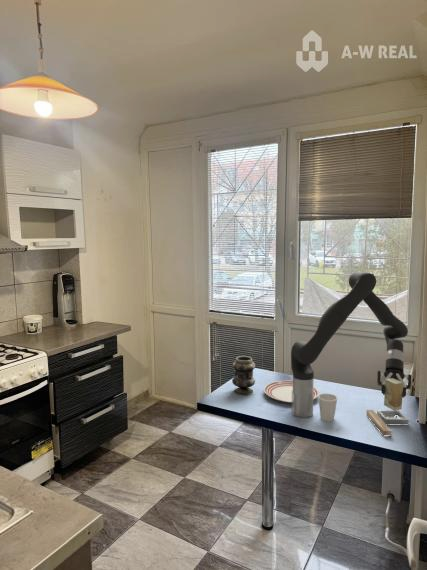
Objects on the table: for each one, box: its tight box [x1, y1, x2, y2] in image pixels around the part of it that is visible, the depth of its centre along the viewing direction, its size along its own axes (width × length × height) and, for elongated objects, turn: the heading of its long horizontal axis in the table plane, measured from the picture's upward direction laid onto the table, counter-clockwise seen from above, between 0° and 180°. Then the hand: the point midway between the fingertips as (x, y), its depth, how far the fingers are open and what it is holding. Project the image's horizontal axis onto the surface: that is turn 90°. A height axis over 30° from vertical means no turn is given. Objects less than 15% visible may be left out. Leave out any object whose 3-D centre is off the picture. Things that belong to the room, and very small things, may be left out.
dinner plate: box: [263, 380, 320, 404], centre depth 200 cm, size 28×27×3 cm
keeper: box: [376, 409, 410, 425], centre depth 172 cm, size 10×10×2 cm
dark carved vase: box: [231, 355, 256, 396], centre depth 205 cm, size 12×12×18 cm
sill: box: [366, 409, 392, 436], centre depth 167 cm, size 3×20×2 cm, turn 178°
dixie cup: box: [317, 392, 339, 422], centre depth 174 cm, size 8×8×10 cm
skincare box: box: [383, 378, 403, 411], centre depth 171 cm, size 6×4×12 cm
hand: (393, 395), depth 169 cm, fingers closed on skincare box, 7 cm apart
